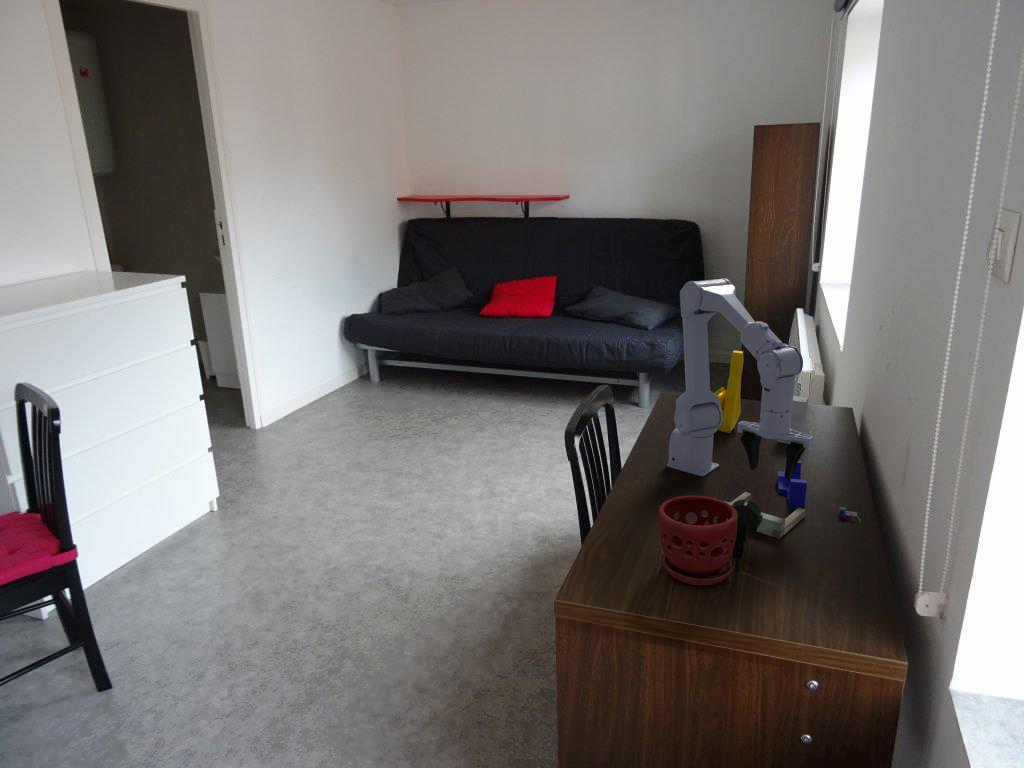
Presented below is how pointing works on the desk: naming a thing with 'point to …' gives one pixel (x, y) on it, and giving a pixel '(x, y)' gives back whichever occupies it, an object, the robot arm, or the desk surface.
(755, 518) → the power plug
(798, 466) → the cable clip
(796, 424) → the skincare box
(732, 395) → the figure statuette
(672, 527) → the plant pot
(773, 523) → the channel
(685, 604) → the desk surface
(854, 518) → the multicolored checkered block
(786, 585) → the desk surface
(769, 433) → the robot arm
